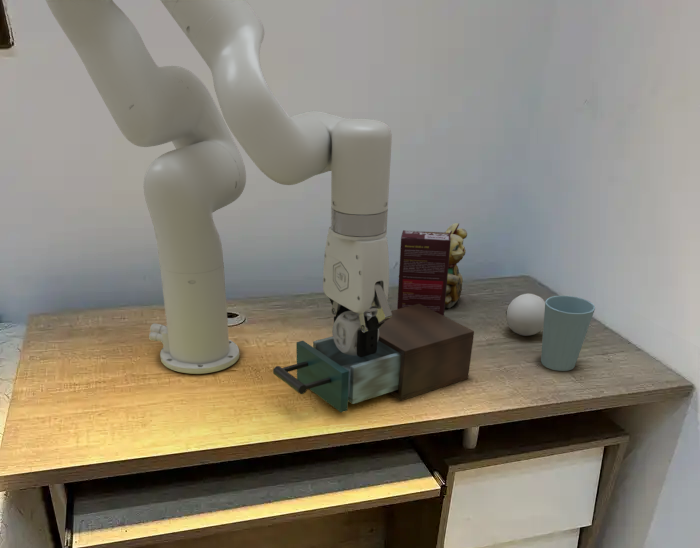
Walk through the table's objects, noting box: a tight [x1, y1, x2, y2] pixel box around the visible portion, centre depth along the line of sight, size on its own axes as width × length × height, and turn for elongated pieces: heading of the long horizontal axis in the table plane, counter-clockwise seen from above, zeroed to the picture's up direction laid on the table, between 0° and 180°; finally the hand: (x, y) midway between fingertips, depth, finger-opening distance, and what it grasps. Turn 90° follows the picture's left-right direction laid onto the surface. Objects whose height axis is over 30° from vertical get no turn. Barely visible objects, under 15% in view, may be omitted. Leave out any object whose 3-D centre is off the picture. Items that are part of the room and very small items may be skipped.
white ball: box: [501, 293, 545, 337], centre depth 131 cm, size 10×7×7 cm
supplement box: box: [396, 229, 451, 316], centre depth 131 cm, size 9×5×16 cm, turn 84°
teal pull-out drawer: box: [272, 335, 401, 413], centre depth 108 cm, size 18×12×6 cm, turn 125°
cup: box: [540, 295, 596, 372], centre depth 119 cm, size 8×8×10 cm
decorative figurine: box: [443, 222, 468, 309], centre depth 139 cm, size 10×8×15 cm
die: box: [331, 311, 379, 356], centre depth 107 cm, size 5×5×5 cm
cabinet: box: [378, 304, 475, 401], centre depth 115 cm, size 14×13×8 cm
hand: (354, 346), depth 108 cm, fingers closed on die, 5 cm apart
